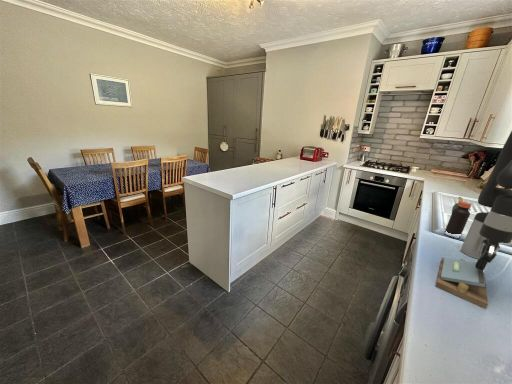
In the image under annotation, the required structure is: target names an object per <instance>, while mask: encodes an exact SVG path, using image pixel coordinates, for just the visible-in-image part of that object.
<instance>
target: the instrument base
mask: <svg viewBox="0 0 512 384" xmlns="http://www.w3.org/2000/svg"><path fill="white" fill-rule="evenodd" d="M444 258H445V257H441V260H440V263H439V267H438V272H437V276H436V282H435V287H436V288H438V289H441V290H442V291H445V292H447V293H450V294H452V295H454V296H456V297H459V298H460V299H463V300H465V301H467V302H469V303H472V304H473V305H476V306H478V307H480V308H482V309H487V308H488V305H489V300H488V292H487V285H486V278H485V276H486V275H484V281H485V287H482V286H476V285H470V284H465V283H459V282H453V281H447V280H442V279H441V274H442V268H443V263H444ZM459 260H463V261H467V260H466V259H464V258H461V259H459ZM483 273H484V274H485V272H484V271H483Z"/></svg>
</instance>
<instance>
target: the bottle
mask: <svg viewBox="0 0 512 384" xmlns="http://www.w3.org/2000/svg"><path fill="white" fill-rule="evenodd" d="M458 201H459V200H458ZM457 203H458V202H457ZM471 207H472V203H470V202H466V201H464V200H463V201H459V203H458V208H456V209H454V210H453V212H452V211H451V214H450V218H449V220H448V222H447V224H446V227H445V230H446V231H447V232H448V233H451V234H461V235H462V234H463V232H464V230H465V227H466V225H467V222H468V221H469V217H470V215H471V212H470V211H469V210H470V209H471ZM445 230H444V231H445Z"/></svg>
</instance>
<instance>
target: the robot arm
mask: <svg viewBox="0 0 512 384" xmlns="http://www.w3.org/2000/svg"><path fill="white" fill-rule="evenodd" d="M498 186H499V187H498ZM477 198H478V199H477V203H478V205H480V206H483V207H488V208H491V209H490V210H489V211H488V212H484V211H483V212H482V211H481V212H477V213H476V214H475V215H474V218H473V220H472V223H471V224H470V228H469V229H468V232H467V234H466V236H465V238H464V240H463V243H462V245H461V247H460V249H461V250H460V251H461V253H463V254H464V253H465V255H466V256H469V257H471V258H472V259H473V258H474V259H477V261H475V262H476V264H475V267H476V268H477V269H480V270H483V271H484V270H485V269H486V267H487V265H488V263H491V262H492V261H493V260H494V259H495V258H496V257H497V252H499V251H500V250H501V249H500V248H501V246H500V243H501V244H502V243H503V244H510V243H512V130H511V131H510V133H509V135H508V137H507V139H506V141H505V143H504V144H503V147H502V148H501V151H500V153H499V155H498V157H497V159H496V162H495V165H494V167H493V169H492V172H491V174H490V175H489V177H488V179H487V181H486V182H485V184H484V186H483V188H482V189H481V191H480V193H479V195H478V197H477Z"/></svg>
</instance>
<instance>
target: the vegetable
mask: <svg viewBox="0 0 512 384" xmlns="http://www.w3.org/2000/svg"><path fill="white" fill-rule="evenodd" d="M457 199H458V201H457V203H456V202H455V203H454V204H453V206H452V209H451V213H452V212H453V210H454V209H456V208H458V203H459V201H463V202H464V200H463V197H462V196H459V197H458V198H457Z"/></svg>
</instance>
